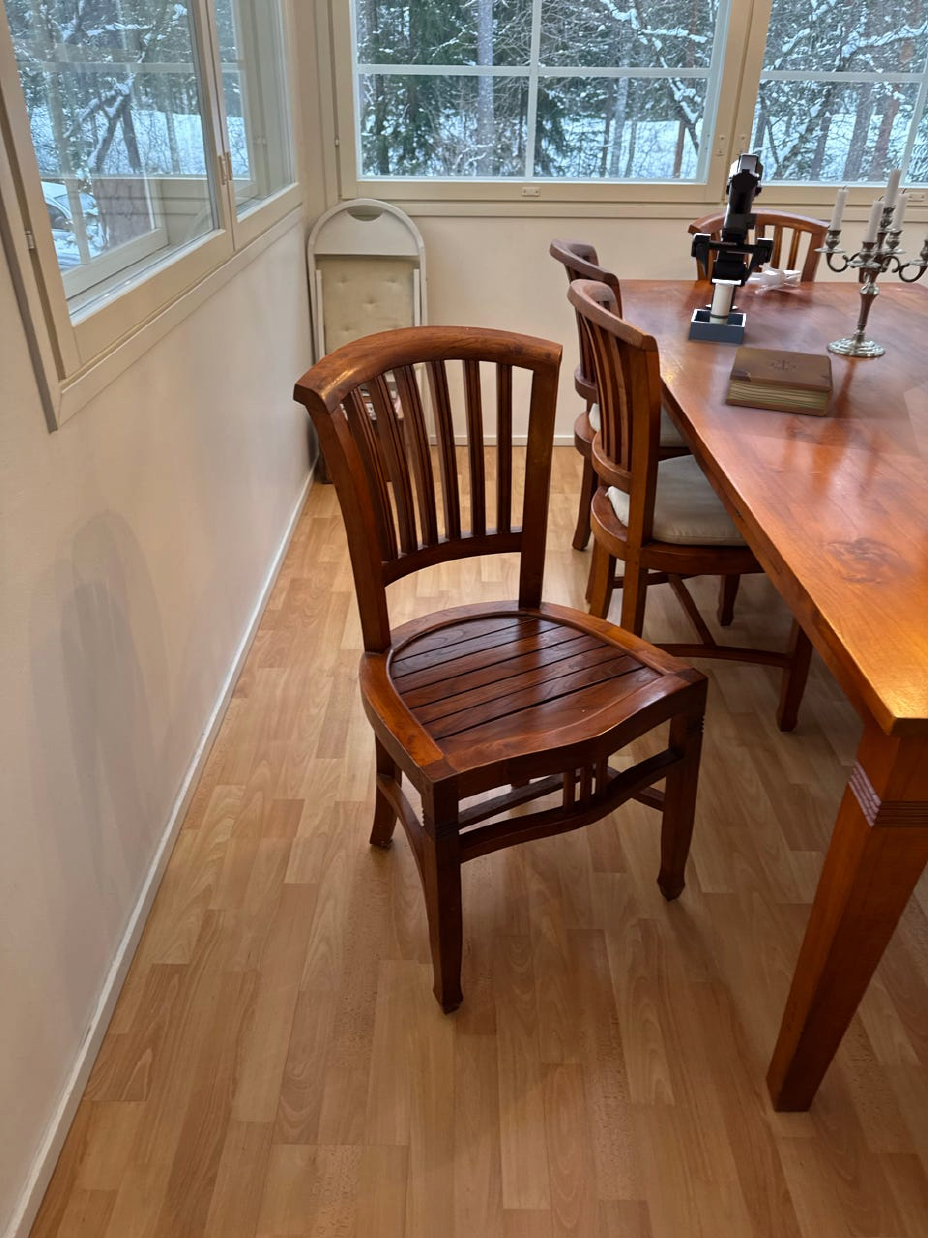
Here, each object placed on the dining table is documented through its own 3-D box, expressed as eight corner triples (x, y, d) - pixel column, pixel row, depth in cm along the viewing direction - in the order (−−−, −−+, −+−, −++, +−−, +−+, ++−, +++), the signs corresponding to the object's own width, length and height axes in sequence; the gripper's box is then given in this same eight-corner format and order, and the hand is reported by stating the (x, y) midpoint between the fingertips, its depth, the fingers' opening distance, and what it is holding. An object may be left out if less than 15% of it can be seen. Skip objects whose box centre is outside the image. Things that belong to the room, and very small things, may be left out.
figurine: (728, 261, 252) (801, 263, 245) (732, 263, 262) (803, 264, 255) (724, 293, 255) (796, 295, 248) (728, 293, 265) (798, 296, 258)
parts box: (691, 328, 218) (695, 309, 215) (742, 333, 215) (746, 313, 213) (687, 341, 207) (691, 321, 205) (740, 346, 204) (744, 326, 202)
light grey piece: (713, 333, 212) (722, 281, 205) (728, 337, 209) (737, 284, 203) (703, 336, 209) (712, 283, 203) (718, 339, 207) (727, 286, 200)
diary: (826, 417, 164) (834, 387, 160) (724, 404, 168) (730, 374, 165) (825, 382, 182) (832, 354, 179) (733, 372, 187) (738, 344, 184)
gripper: (699, 196, 205) (688, 254, 202) (782, 201, 201) (772, 260, 198) (696, 227, 216) (685, 283, 213) (774, 233, 212) (764, 290, 209)
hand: (726, 278), depth 208 cm, fingers open, 9 cm apart
